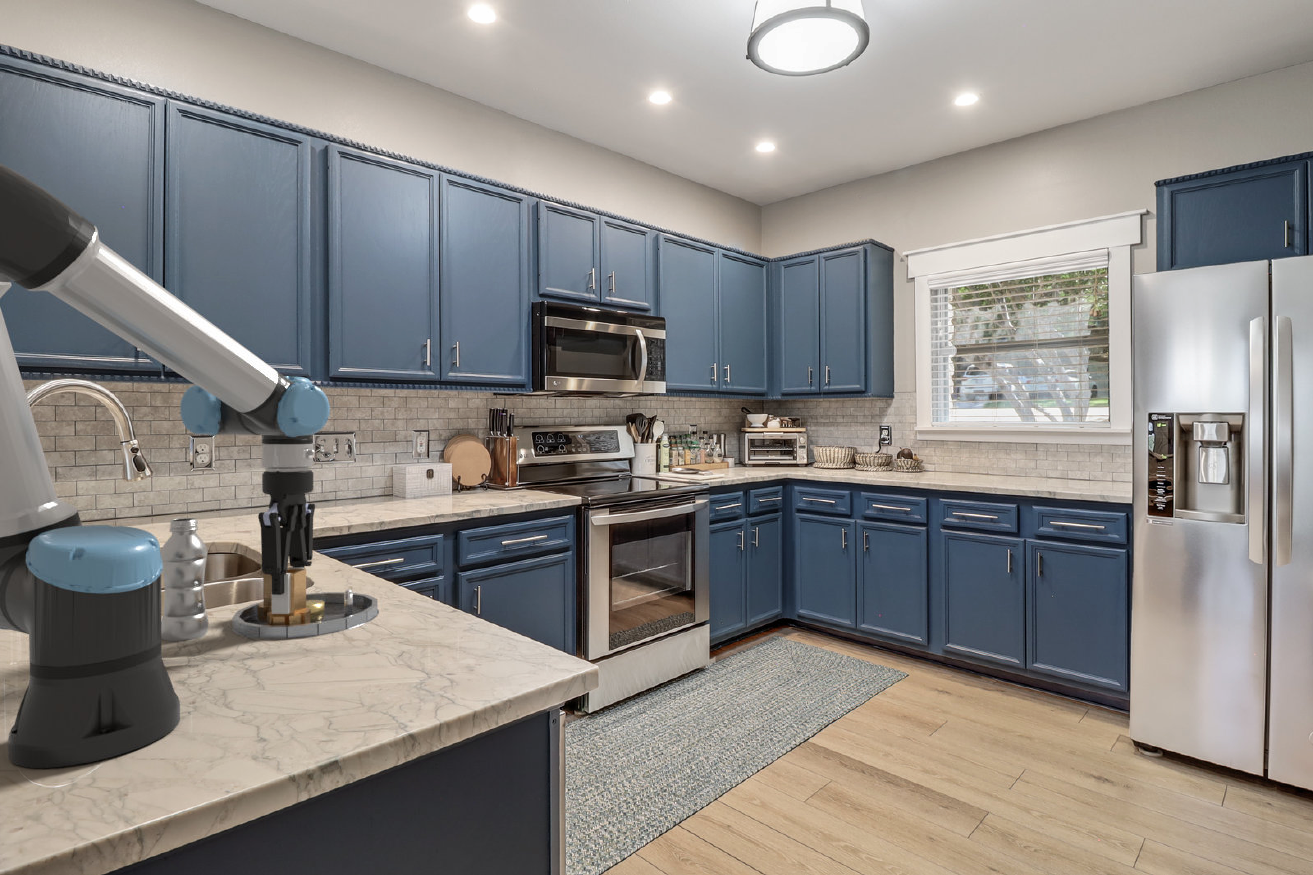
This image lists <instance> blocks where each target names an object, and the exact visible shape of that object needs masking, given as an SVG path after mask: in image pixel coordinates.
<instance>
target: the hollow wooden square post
mask: <svg viewBox="0 0 1313 875" xmlns="http://www.w3.org/2000/svg"><path fill="white" fill-rule="evenodd" d="M287 573H291V613H289V614H272V576H271V611H270V612H268V613H267V625H299V624H310V622H311V609H309V608H308V607H306V594H307V568H305V569H287Z"/></svg>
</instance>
